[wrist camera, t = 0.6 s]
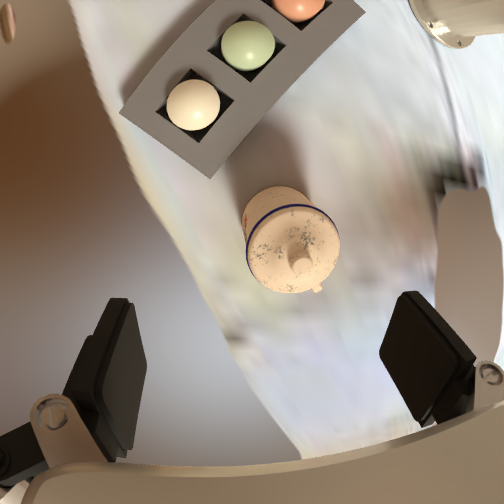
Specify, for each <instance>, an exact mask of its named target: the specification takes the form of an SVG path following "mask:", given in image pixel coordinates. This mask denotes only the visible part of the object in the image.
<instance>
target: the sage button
mask: <svg viewBox="0 0 504 504" xmlns="http://www.w3.org/2000/svg"><path fill="white" fill-rule="evenodd" d="M274 48H275V40H274V37H273V35H272V33H271V32H270V30H269V29H268V28H267V27H265V26H264V25H262V24H260V23H258V22H254V21H241V22H238V23H235V24H233V25H232V26H230V27H229V28H228V29H227V30H226V31H225V33H224V35H223V37H222V42H221V53H222V57H223V59H224V61H225V62H226V63H227V64H228V65H229V66H230V67H232V68H234V69H236V70H239V71H253V70H256V69H258V68H260V67H261V66H263V65H264V64H265V63H266V62H267V60H268V59H269V58H270V57H271V55H272V54H273V52H274Z"/></svg>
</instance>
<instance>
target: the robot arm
mask: <svg viewBox="0 0 504 504" xmlns="http://www.w3.org/2000/svg"><path fill="white" fill-rule="evenodd" d="M409 2H410V5H411V8H412V10H413V12H414V14H415V16H416V18H417V19H418V21H419V22H420V24H421V25H422V26H423V28H424V29H425V30H426V31H427V32H428V33H429V34H430V35H431V36H432V37H433V38H434V39H435V40H436V41H438V42H439V43H441V44H443V45H444V46H447V47H449V48H454V49H460V48H465V47H468V46H469V45H471V43H472V42H473V40H474V38H475V36H479V35H488V34H499V33H504V0H409ZM379 355H380V359H381V360H382V362H383V364H384V366H385V367H386V369H387V371H388V372H389V374H390V376H391V378H392V380H393V381H394V383H395V385H396V387H397V388H398V390H399V392H400V394H401V396H402V397H403V399H404V401H405V403H406V405H407V407H408V408H409V410H410V412H411V414H412V416H413V418H414V419H415V420H416V421H418V422H419V424H420V426H421V428H423V427H426V426H429V425H431V424H433V423H434V421H436V423H437V425H435V426H433V427H430V428H427V429H425V430H422V431H419V432H416V433H413V434H410V435H407V436H404V437H400V438H397V439H394V440H390V441H387V442H383V443H380V444H376V445H372V446H368V447H364V448H360V449H356V450H352V451H347V452H343V453H338V454H333V455H327V456H322V457H316V458H310V459H303V460H296V461H289V462H281V463H271V464H261V465H247V466H224V467H223V466H222V467H183V466H160V465H159V466H158V465H145V464H130V463H115V462H116V457H122V458H126V455H127V450H132V448H133V442H134V436H135V430H136V424H137V418H138V412H139V407H140V401H141V396H142V391H143V386H144V380H145V375H146V369H147V362H146V358H145V354H144V350H143V345H142V341H141V336H140V332H139V327H138V322H137V317H136V312H135V307H134V304H133V303H129V301H128V299H127V298H110V300H109V302H108V304H107V306H106V308H105V310H104V312H103V314H102V316H101V318H100V320H99V322H98V325H97V327H96V329H95V331H94V334H93V335H89V336H88V337H87V338H86V340H85V342H84V344H83V346H82V348H81V350H80V353H79V355H78V357H77V360H76V362H75V364H74V367H73V369H72V371H71V374H70V376H69V378H68V381H67V383H66V386H65V388H64V391H63V393H62V395H60V394H49V395H45V396H43V397H41V398H40V399H38V400H37V401H36V402H35V403H34V404H33V406H32V408H31V411H30V422H28V423H26V424H24V425H22V426H21V427H18V428H16V429H14V430H12V431H10V432H8V433H6V434H4V435H2V436H0V504H504V371H503V370H502V369H501V368H500V366H498V365H497V364H495V363H493V362H491V361H481V362H479V363H478V364H477V366H476V367H474V365H473V363H474V362H475V360H476V356H475V355H474V354H473V353H472V351H471V350H470V349H469V348H468V346H467V345H466V344H465V343H464V342H463V341H462V339H461V338H460V337H459V336H458V335H457V334H456V332H455V331H454V330H453V329H452V328H451V327H450V326H449V324H448V323H447V322H446V321H445V320H444V319H443V318H442V317H441V316H440V314H439V313H438V312H437V311H436V310H435V309H434V308H433V307H432V306H431V304H430V303H429V302H428V301H427V300H426V299H425V298H424V297H423V296H422V295H421V294H420V293H419V292H418V291H406V292H403V293H402V294H401V296H399V297H398V299H397V302H396V305H395V308H394V311H393V314H392V317H391V320H390V323H389V325H388V328H387V331H386V334H385V336H384V339H383V342H382V344H381V347H380V350H379Z"/></svg>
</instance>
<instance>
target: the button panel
mask: <svg viewBox="0 0 504 504" xmlns="http://www.w3.org/2000/svg"><path fill="white" fill-rule="evenodd" d="M263 1H264V0H215V1H214V2H213V3H212V4H211V5H210V6H209V7H208V8H207V9H206V10H205V11H204V12H203V13H202V14H201V15H200V16H199V17H198V18H197V19H196V20H195V21H194V22H193V23H192V24H191V25H190V26H189V27H188V28H187V29H186V30H185V31H184V32H183V33H182V34H181V35H180V36H179V38H178V39H177V40H176V41H175V42H174V43H173V44H172V45H171V46H170V48H169V49H168V50H167V51H166V52H165V53H164V55H163V56H162V57H161V58H160V59H159V60H158V62H157V63H156V64H155V65H154V67H153V68H152V69H151V70H150V71H149V73H148V74H147V75H146V77H145V78H144V79H143V80H142V82H141V83H140V84H139V86H138V87H137V88H136V90H135V91H134V92H133V94H132V95H131V96H130V98H129V99H128V101H127V102H126V103H125V105H124V106H123V108H122V109H121V110H120V112H119V114H121V115H122V116H124V117H125V118H126V119H128V120H129V121H131V122H132V123H134V124H135V125H136V126H138V127H139V128H141V129H142V130H143V131H145V132H146V133H148V134H149V135H150V136H152V137H153V138H155V139H156V140H157V141H159V142H160V143H162V144H163V145H164V146H166V147H167V148H168V149H170V150H171V151H173V152H174V153H175V154H177V155H178V156H179V157H181V158H182V159H184V160H185V161H186V162H188V163H189V164H190V165H192V166H193V167H194V168H196V169H197V170H198V171H200V172H201V173H202V174H204V175H205V176H207V177H208V178H209V179H211V178H212V177H213V175H214V174H215V173H216V172H217V170H218V169H219V168H220V167H221V165H222V164H223V163H224V162H225V160H226V159H227V158H228V157H229V156H230V154H231V153H232V152H233V151H234V150H235V148H236V147H237V146H238V145H239V144H240V143H241V141H242V140H243V139H244V138H245V137H246V135H247V134H248V133H249V132H250V131H251V130H252V129H253V127H254V126H255V125H256V124H257V123H258V122H259V120H260V119H261V118H262V117H263V116H264V115H265V114H266V113H267V111H268V110H269V109H270V108H271V107H272V106H273V105H274V104H275V103H276V101H277V100H278V99H279V98H280V97H281V96H282V95H283V94H284V93H285V92H286V91H287V90H288V88H289V87H290V86H291V85H292V84H293V83H294V82H295V81H296V80H297V79H298V78H299V77H300V76H301V75H302V74H303V73H304V72H305V71H306V70H307V69H308V67H309V66H310V65H311V64H312V63H313V62H314V61H315V60H316V59H317V58H318V57H319V56H320V55H321V54H322V53H323V52H324V51H325V50H326V49H327V48H328V47H329V46H330V45H331V44H332V43H333V42H334V41H336V40H337V39H338V38H339V37H340V36H341V35H342V34H343V33H344V32H345V31H346V30H347V29H348V28H349V27H350V26H351V25H352V24H353V23H355V22H356V21H357V20H358V19H359V18H360V17H361V16H362V15H363V14H364V13H366V12H365V11H364V10H363V9H362V8H361V7H360V6H359V5H358V4H357V3H355V2H354V1H353V0H325V3H324V5H323V7H322V9H324V11H323V12H322V13H321V14H319V15H318V16H317V17H316V18H315V19H314V20H313V21H312V22H311V23H310V24H308V25H307V26H306V27H305V28H304V29H303V30H302V31H301V30H299V29H298V28H297V27H296V26H294V25H293V24H292V23H291V22H289V21H288V20H287V19H286V18H284V17H283V16H282V15H280V14H279V13H278V12H276V11H275V10H274V9H272V8H271V7H269V6H268V5H267V4H265V3H264V2H263ZM241 21H254V22H258V23H260V24H262V25H264V26H265V27H267V28H268V29H269V30H270V32H271V33H272V35H273V37H274V40H275V47H276V48H278V49H279V50H280V52H279V53H278V54H277V55H276V56H275V57H274V59H273V60H272V61H271V62H270V63H269V64H268V65H267V66H266V67H265V68H264V69H263V70H262V71H261V72H260V73H259V74H258V75H257V76H256V77H255V78H254V80H253V81H252V82H251V83H250V82H249V81H248V80H246V79H245V78H244V77H242V76H241V75H240V74H238V73H237V72H236V71H234V70H233V69H232V68H230V67H229V66H228V65H226V64H225V63H224V62H222V61H221V60H219V59H218V58H217V57H215V56H214V55H212V54H211V52H212V51H213V50H214V49H215V48H216V46H217V45H218V44H219V43H220V42H221V41H222V37H223V35H224V33H225V31H226V30H227V29H228V28H229V27H230V26H232V25H233V24H235V23H238V22H241ZM192 73H195V74H196V75H198V76H199V77H200V78H202V79H203V80H205V81H206V82H207V83H209V84H210V85H212V86H213V87H214V88H216V89H217V90H218V91H220V92H221V93H222V94H224V95H225V96H226V97H228V98H229V99H230V100H232V101H233V103H232V104H231V105H230V106H229V108H228V109H227V110H226V111H225V112H224V113H223V115H222V116H221V117H220V118H219V119H218V121H217V122H216V123H215V124H214V125H213V127H212V128H211V129H210V130H209V131H208V133H207V134H206V135H205V136H204V138H203V139H202V140H201V141H199V140H198V139H197V138H195V137H194V136H193V135H191V134H190V133H189V132H187V131H186V130H185V129H182V128H180V127H178V126H177V125H175V124H174V123H173V122H172V121H171V119H169V118H168V117H167V116H165V115H164V114H162V113H161V111H162V110H163V109H164V107H165V106H166V105H167V100H168V97H169V95H170V93H171V91H172V90H173V89H174V88H175V87H176V86H177V85H179V84H180V83H182V82H184V81H186V80H187V79H188V78H189V76H190V75H191V74H192Z"/></svg>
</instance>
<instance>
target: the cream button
mask: <svg viewBox="0 0 504 504" xmlns="http://www.w3.org/2000/svg"><path fill="white" fill-rule="evenodd" d="M219 109H220V99H219V96H218V93H217V91H216V90H215V89H214V87H213V86H211V85H210V84H209V83H207V82H205V81H202V80H187V81H184V82H182V83H180V84H179V85H177V86H176V87H175V88H174V89H173V90H172V91H171V93H170V95H169V97H168V100H167V112H168V115H169V117H170V119H171V121H172V122H173V123H174V124H175V125H177V126H178V127H180V128H182V129H185V130H199V129H202V128H204V127H206V126H208V125H209V124H211V123H212V122H213V121H214V120H215V118H216V117H217V115H218V113H219Z"/></svg>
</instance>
